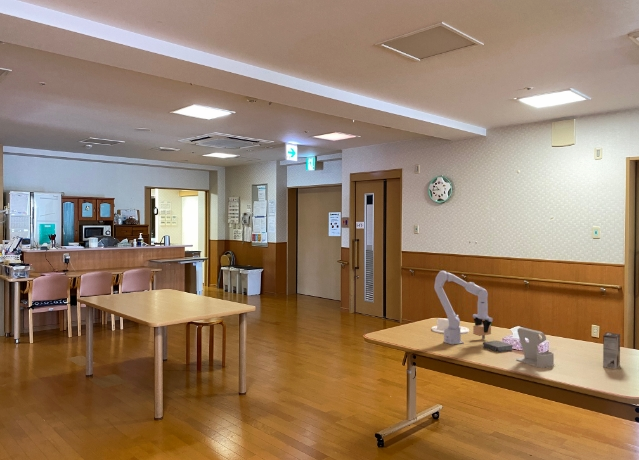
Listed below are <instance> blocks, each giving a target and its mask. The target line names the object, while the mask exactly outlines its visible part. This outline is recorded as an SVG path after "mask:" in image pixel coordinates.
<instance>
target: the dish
mask: <svg viewBox="0 0 639 460" xmlns="http://www.w3.org/2000/svg"><path fill="white" fill-rule="evenodd" d="M456 316H458V317H459V314H456ZM448 326H449V320H448V318H441V317H440V318H436V325H433V326H432V327H431V331H433V332H434V333H438V334H443V335H444V331H445V329H448ZM459 326H460V325H459ZM460 327H461V335H464V334H468V333H470V328H469V327H466V326H462V325H461V326H460Z"/></svg>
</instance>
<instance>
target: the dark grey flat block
mask: <svg viewBox="0 0 639 460" xmlns="http://www.w3.org/2000/svg"><path fill="white" fill-rule="evenodd" d="M482 345H483V348H484V349H486V350H489V351H491V352H494V353H495V352H496V353H503V352H510V351H513V347H514V346H513V344H510V343H507V342H504V341H499V340H493V341H492V340H491V341H484V342H482Z"/></svg>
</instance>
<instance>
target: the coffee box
mask: <svg viewBox="0 0 639 460" xmlns="http://www.w3.org/2000/svg"><path fill="white" fill-rule="evenodd" d="M602 338H603V339H602V340H603V341H602V343H603V344H602V350H603V351H602V367H603V368H606V367H608V368H607V369H612V368H614V369H613V370H618V369H617V368H619V367H620V366H621V334H620V333H614V332H609V331H607V332H605V333H604V334H603V335H602Z"/></svg>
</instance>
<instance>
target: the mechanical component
mask: <svg viewBox="0 0 639 460" xmlns="http://www.w3.org/2000/svg"><path fill="white" fill-rule="evenodd" d="M481 325H483V322H482V324H481ZM474 326H476V324H475V323H474ZM490 326H491V327H492V326H493V323H491V324H490ZM481 338H482V339H483V340H484V339H485V338H486V335H482V336H481Z"/></svg>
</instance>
